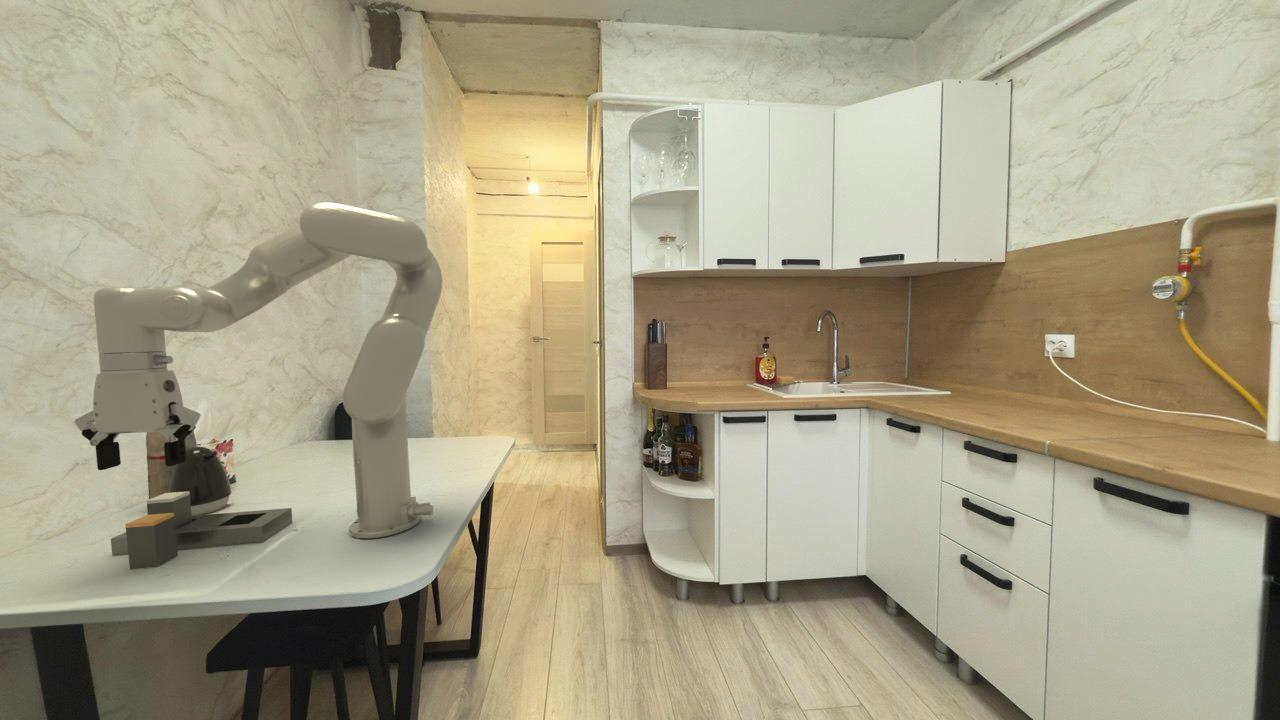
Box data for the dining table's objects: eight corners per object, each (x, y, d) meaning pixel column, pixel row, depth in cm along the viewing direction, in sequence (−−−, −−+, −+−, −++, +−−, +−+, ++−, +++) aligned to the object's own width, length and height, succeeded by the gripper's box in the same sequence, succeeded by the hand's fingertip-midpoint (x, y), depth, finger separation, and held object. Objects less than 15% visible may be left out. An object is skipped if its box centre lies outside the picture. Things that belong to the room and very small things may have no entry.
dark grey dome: (194, 525, 97) (188, 453, 96) (156, 522, 99) (149, 452, 98) (245, 506, 107) (239, 441, 106) (209, 505, 109) (203, 441, 108)
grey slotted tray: (292, 527, 94) (291, 507, 94) (263, 547, 85) (262, 526, 85) (157, 538, 90) (156, 518, 90) (112, 560, 82) (110, 538, 81)
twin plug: (193, 535, 89) (189, 491, 89) (175, 544, 85) (171, 498, 85) (169, 537, 88) (165, 493, 88) (151, 546, 85) (146, 500, 84)
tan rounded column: (172, 504, 110) (164, 420, 109) (210, 501, 111) (202, 419, 110) (137, 518, 102) (128, 428, 100) (179, 515, 103) (170, 426, 101)
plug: (178, 561, 81) (173, 512, 80) (158, 572, 77) (153, 522, 76) (152, 563, 80) (147, 514, 80) (130, 575, 76) (125, 524, 76)
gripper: (210, 360, 81) (218, 456, 82) (96, 364, 79) (105, 463, 80) (174, 363, 74) (183, 469, 75) (47, 367, 71) (57, 476, 72)
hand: (143, 465), depth 77 cm, fingers open, 9 cm apart
